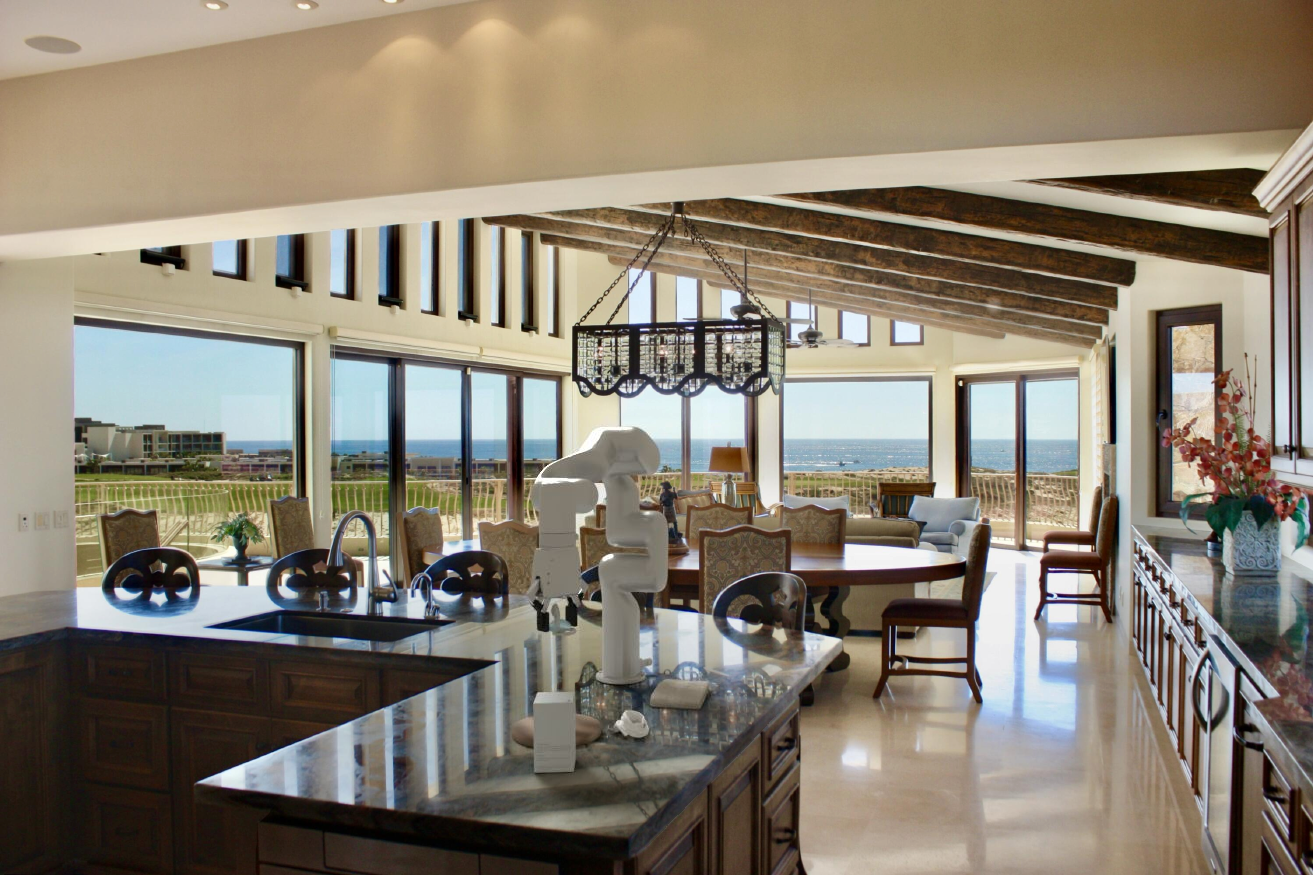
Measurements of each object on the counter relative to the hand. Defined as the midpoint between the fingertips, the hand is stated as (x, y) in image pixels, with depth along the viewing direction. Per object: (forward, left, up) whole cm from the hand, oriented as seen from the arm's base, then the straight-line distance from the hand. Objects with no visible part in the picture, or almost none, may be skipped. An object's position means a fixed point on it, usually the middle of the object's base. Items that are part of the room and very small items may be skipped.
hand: (557, 627), depth 180 cm
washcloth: (-37, +1, -22) cm, 43 cm away
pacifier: (-1, +1, -2) cm, 2 cm away
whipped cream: (-11, +11, -22) cm, 27 cm away
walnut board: (0, 0, -22) cm, 22 cm away
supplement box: (+12, +14, -22) cm, 29 cm away
